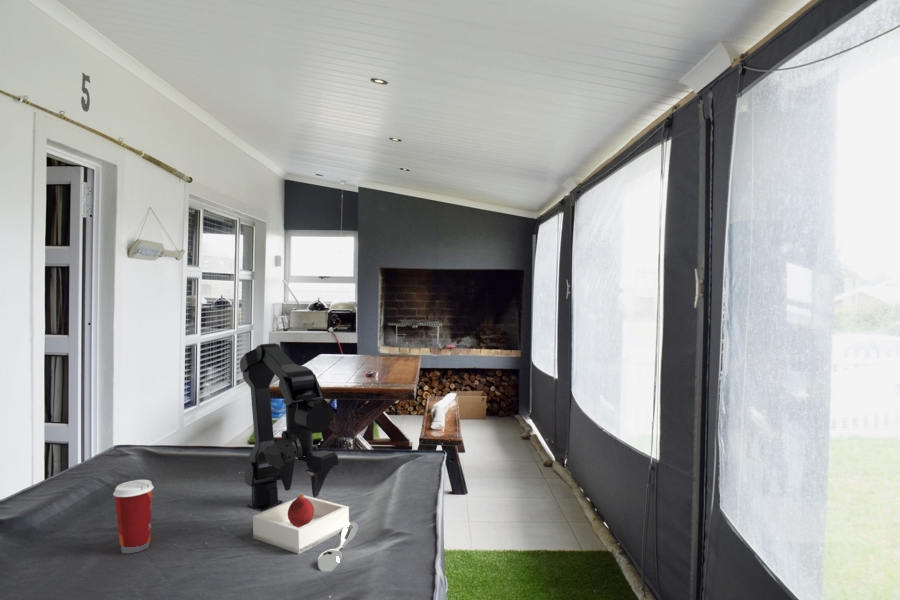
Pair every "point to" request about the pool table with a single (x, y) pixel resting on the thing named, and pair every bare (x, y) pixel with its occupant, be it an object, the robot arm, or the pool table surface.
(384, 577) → the pool table surface
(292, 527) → the bin
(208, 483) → the pool table surface
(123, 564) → the pool table surface
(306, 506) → the onion
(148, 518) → the paper cup
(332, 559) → the silver metal spoon
